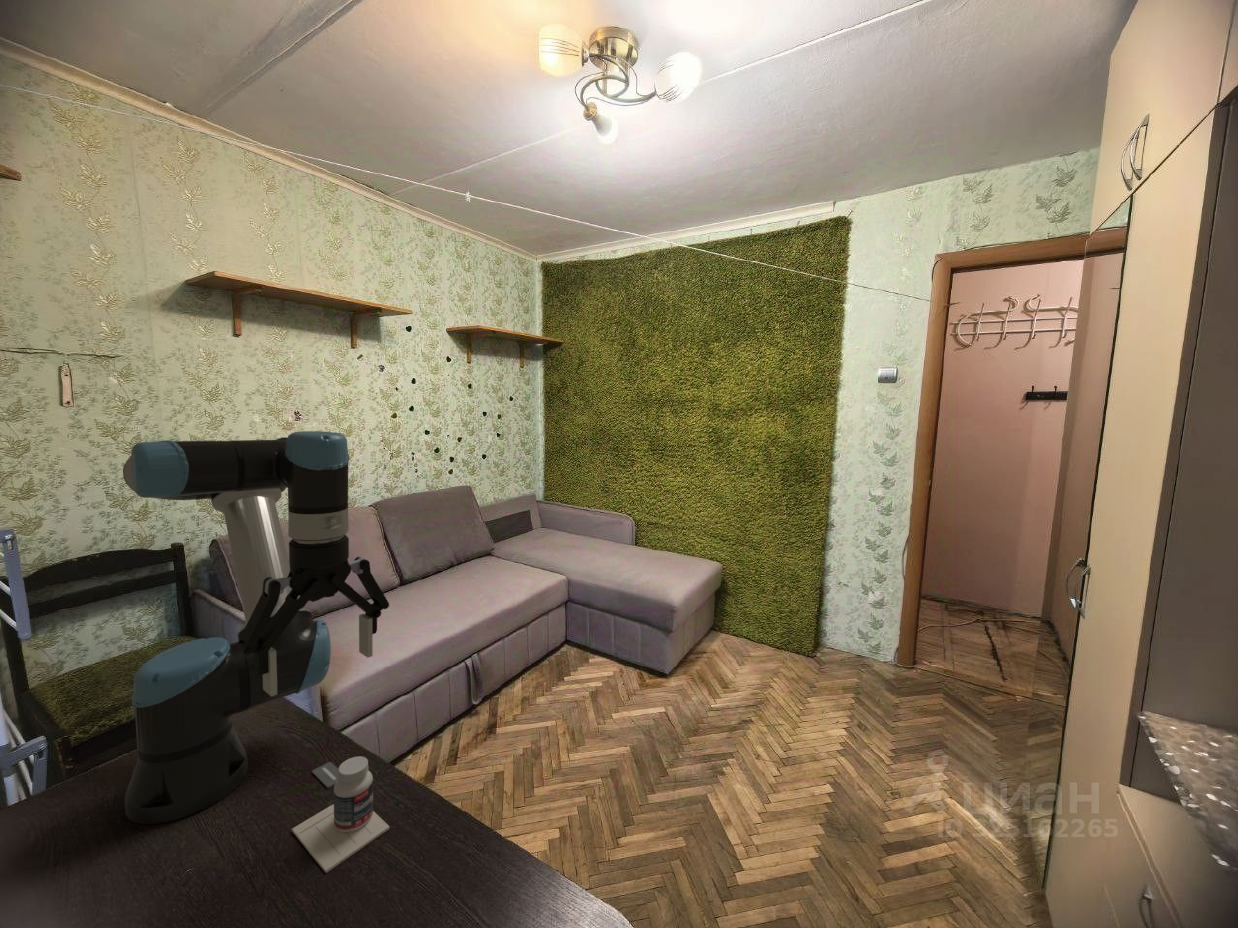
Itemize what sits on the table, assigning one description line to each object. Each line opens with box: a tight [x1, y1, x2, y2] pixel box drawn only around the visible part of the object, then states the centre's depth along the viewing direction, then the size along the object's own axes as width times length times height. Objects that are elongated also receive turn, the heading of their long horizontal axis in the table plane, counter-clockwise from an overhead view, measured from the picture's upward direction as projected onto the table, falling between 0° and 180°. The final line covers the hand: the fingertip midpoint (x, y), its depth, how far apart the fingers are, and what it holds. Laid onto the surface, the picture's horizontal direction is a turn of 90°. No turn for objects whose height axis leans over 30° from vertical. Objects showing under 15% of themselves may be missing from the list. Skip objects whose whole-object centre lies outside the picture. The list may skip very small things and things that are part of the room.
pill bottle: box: [333, 755, 374, 832], centre depth 74 cm, size 5×5×9 cm
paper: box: [291, 803, 390, 874], centre depth 73 cm, size 11×9×1 cm
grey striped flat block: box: [311, 761, 339, 789], centre depth 84 cm, size 6×3×1 cm, turn 54°
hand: (321, 671), depth 74 cm, fingers open, 13 cm apart
